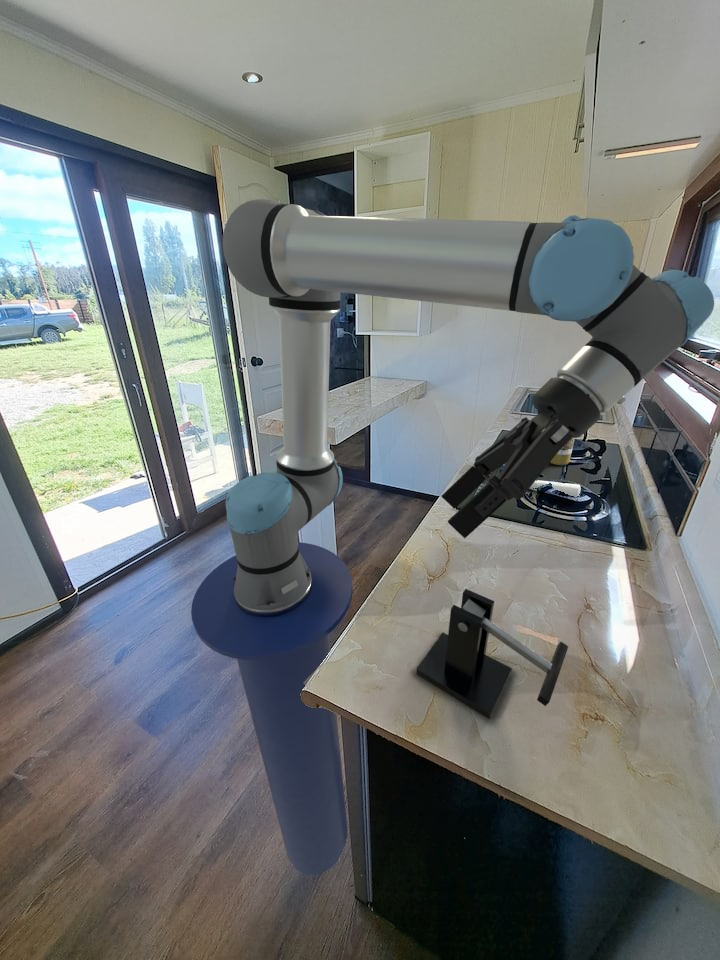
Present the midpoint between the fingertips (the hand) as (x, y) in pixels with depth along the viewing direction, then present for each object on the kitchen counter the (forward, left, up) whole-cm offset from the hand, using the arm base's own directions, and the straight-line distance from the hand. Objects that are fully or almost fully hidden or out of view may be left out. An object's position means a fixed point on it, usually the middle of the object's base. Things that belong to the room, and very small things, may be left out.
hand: (451, 514), depth 52 cm
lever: (+10, -1, -17) cm, 20 cm away
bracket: (+5, -1, -28) cm, 28 cm away
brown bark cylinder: (-3, +93, -28) cm, 97 cm away
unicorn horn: (-3, +68, -28) cm, 74 cm away
